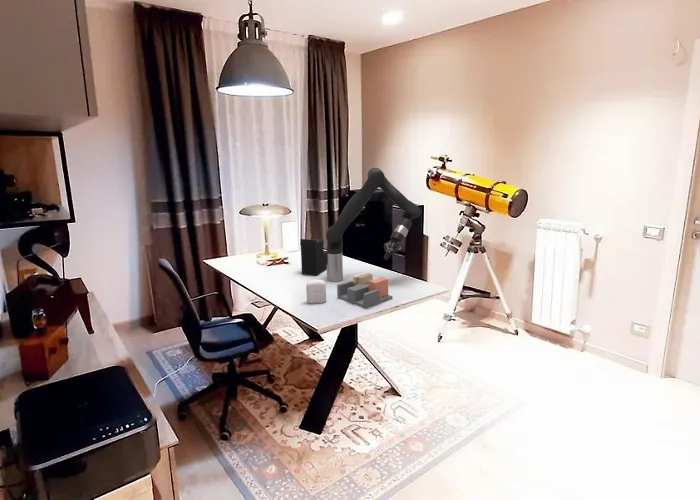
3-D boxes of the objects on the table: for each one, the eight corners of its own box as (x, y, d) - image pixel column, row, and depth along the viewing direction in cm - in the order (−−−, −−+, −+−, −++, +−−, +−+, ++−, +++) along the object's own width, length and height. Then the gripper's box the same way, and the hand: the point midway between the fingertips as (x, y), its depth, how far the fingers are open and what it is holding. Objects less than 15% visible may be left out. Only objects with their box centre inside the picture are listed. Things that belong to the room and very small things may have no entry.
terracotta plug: (368, 297, 227) (368, 280, 225) (381, 292, 234) (381, 276, 231) (375, 299, 223) (375, 283, 221) (388, 294, 230) (388, 278, 228)
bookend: (317, 265, 294) (316, 231, 289) (331, 266, 291) (330, 232, 285) (301, 275, 273) (299, 239, 268) (316, 276, 270) (315, 240, 264)
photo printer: (306, 304, 224) (305, 281, 220) (306, 301, 228) (305, 279, 225) (326, 303, 224) (325, 280, 221) (326, 300, 229) (325, 278, 226)
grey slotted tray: (337, 297, 232) (337, 284, 230) (363, 289, 245) (363, 276, 243) (365, 308, 216) (365, 294, 214) (392, 298, 229) (392, 285, 227)
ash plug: (353, 291, 236) (353, 276, 233) (366, 287, 242) (366, 272, 240) (359, 293, 232) (359, 278, 230) (372, 289, 239) (372, 274, 236)
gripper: (388, 229, 253) (373, 253, 248) (405, 232, 243) (390, 257, 238) (394, 236, 257) (380, 260, 252) (411, 239, 248) (397, 264, 243)
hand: (385, 258), depth 245 cm, fingers closed
